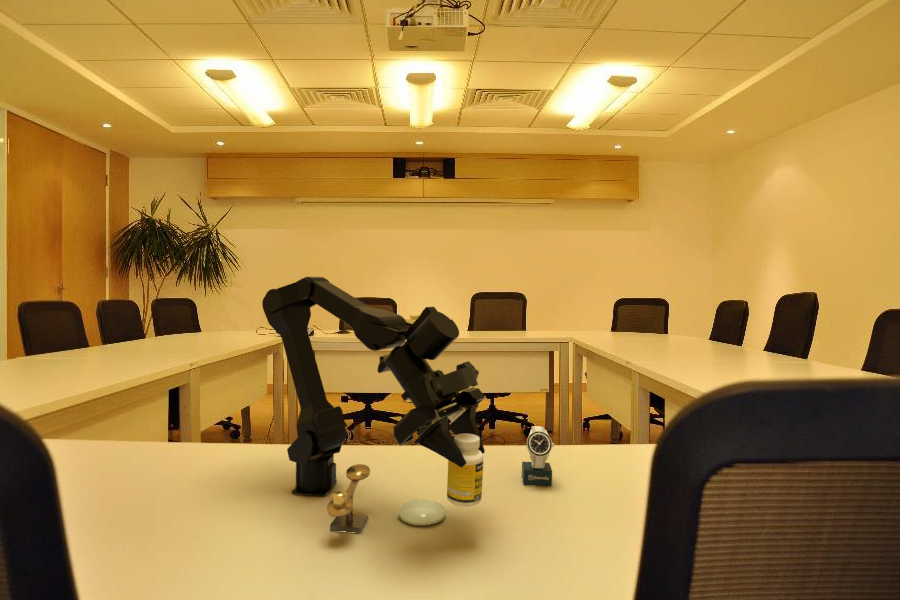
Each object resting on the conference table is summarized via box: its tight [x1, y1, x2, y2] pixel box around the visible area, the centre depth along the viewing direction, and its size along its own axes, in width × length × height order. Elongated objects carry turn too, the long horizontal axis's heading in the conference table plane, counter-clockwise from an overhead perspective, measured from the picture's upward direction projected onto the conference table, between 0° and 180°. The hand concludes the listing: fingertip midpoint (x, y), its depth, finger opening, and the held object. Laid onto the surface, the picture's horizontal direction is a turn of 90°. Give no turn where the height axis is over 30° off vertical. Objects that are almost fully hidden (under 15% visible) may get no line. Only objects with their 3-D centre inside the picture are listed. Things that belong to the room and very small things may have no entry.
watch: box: [521, 425, 555, 487], centre depth 101 cm, size 6×8×11 cm
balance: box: [326, 463, 371, 534], centre depth 82 cm, size 5×13×8 cm, turn 173°
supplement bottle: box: [446, 433, 484, 507], centre depth 77 cm, size 5×5×10 cm
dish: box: [398, 499, 447, 526], centre depth 86 cm, size 8×8×1 cm
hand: (473, 459), depth 77 cm, fingers closed on supplement bottle, 5 cm apart
